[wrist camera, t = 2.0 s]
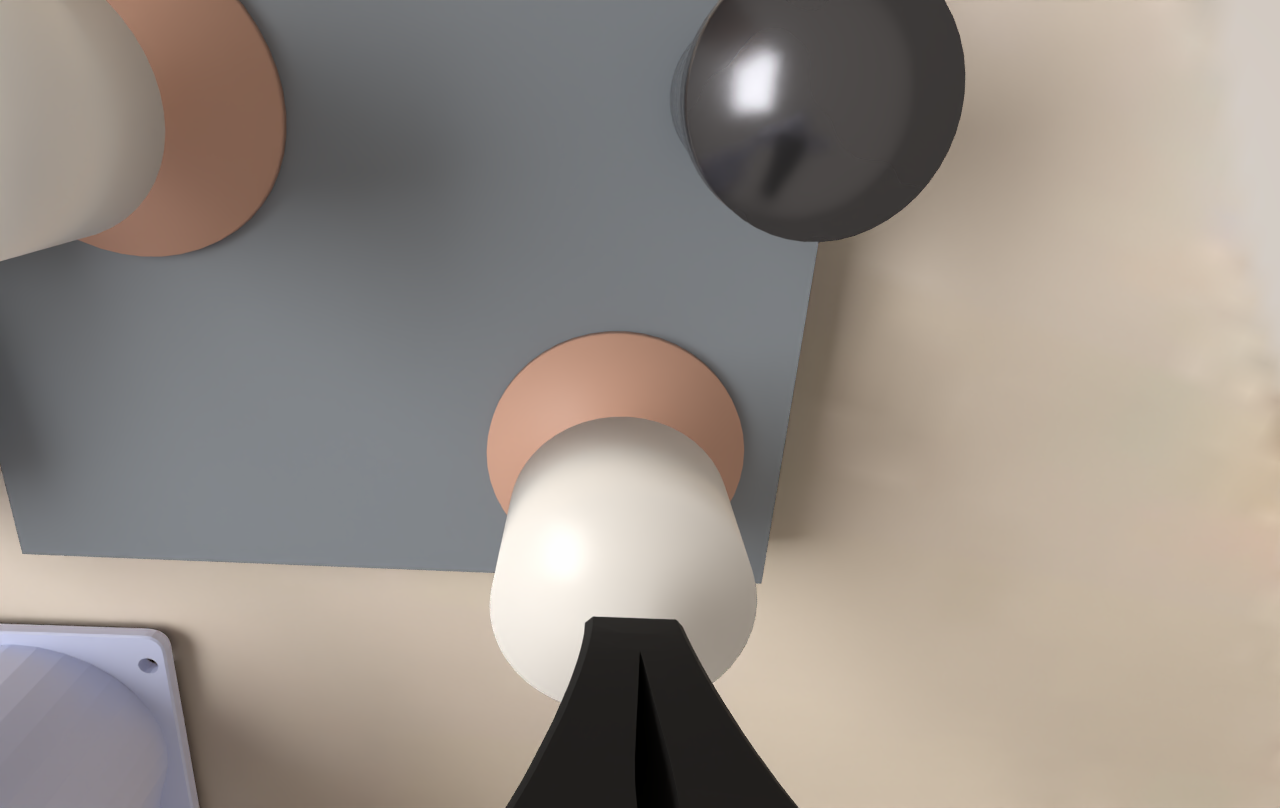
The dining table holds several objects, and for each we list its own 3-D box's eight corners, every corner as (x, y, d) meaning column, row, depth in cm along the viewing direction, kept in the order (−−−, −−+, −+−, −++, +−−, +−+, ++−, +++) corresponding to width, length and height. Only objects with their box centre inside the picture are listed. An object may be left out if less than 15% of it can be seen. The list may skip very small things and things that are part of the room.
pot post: (817, 197, 16) (930, 251, 11) (647, 183, 16) (673, 231, 10) (847, 7, 15) (996, -45, 9) (663, -12, 15) (703, -76, 9)
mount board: (747, 541, 22) (763, 590, 20) (75, 511, 20) (14, 560, 18) (834, -19, 17) (870, -36, 14) (-59, -112, 15) (-166, -145, 13)
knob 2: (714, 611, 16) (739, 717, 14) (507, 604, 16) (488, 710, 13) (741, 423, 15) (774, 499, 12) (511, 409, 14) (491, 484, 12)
